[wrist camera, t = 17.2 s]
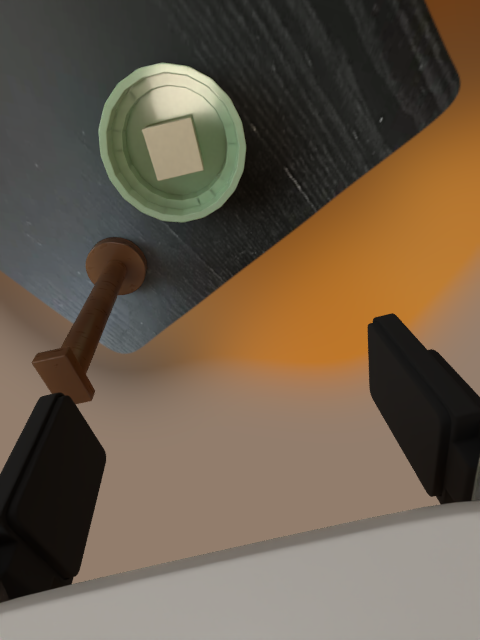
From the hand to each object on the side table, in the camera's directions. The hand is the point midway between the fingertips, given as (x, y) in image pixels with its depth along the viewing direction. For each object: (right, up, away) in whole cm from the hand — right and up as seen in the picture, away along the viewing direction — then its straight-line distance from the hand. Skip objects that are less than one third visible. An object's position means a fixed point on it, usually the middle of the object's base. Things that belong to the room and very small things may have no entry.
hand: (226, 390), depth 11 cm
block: (-5, +18, +22) cm, 29 cm away
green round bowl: (-5, +19, +23) cm, 30 cm away
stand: (-13, +8, +28) cm, 32 cm away
